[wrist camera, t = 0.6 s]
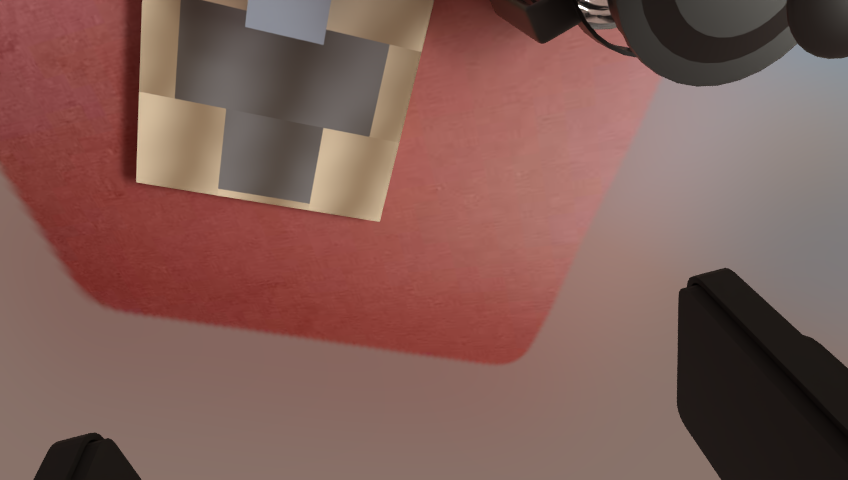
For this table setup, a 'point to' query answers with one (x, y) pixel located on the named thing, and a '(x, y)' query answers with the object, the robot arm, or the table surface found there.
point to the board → (277, 103)
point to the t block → (290, 18)
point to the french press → (693, 31)
